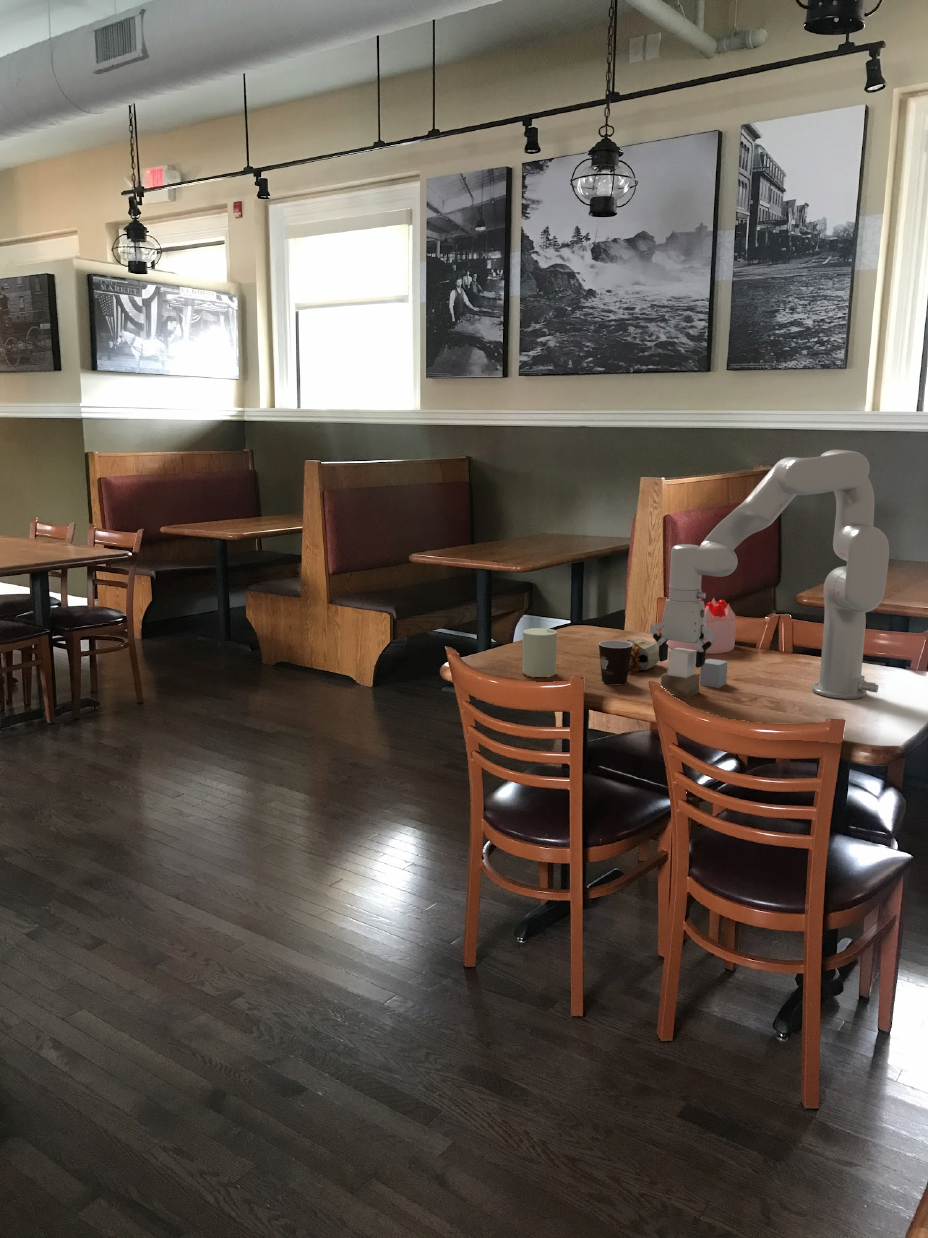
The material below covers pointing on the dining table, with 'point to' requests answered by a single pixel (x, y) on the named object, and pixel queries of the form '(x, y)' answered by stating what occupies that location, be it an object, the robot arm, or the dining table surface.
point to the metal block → (681, 685)
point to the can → (539, 651)
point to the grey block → (713, 673)
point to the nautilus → (643, 654)
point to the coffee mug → (615, 661)
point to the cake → (715, 628)
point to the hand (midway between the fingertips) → (681, 663)
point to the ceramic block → (681, 662)
